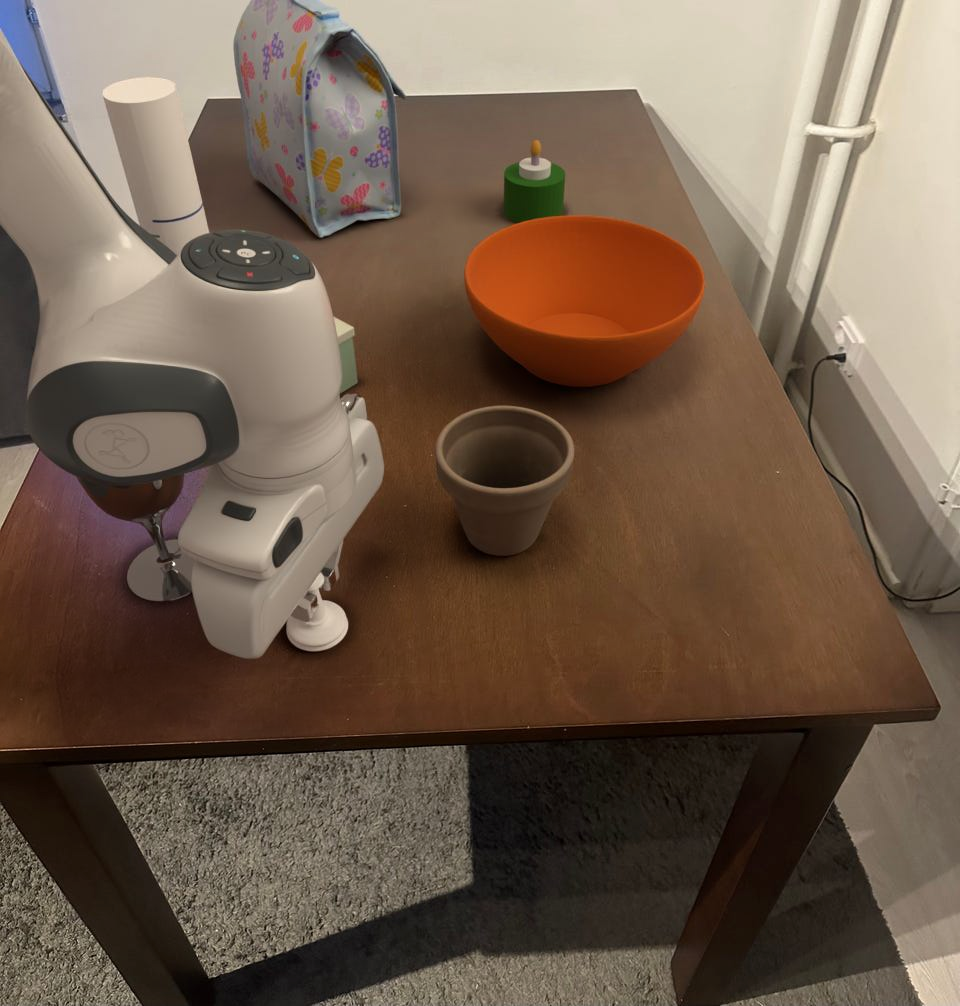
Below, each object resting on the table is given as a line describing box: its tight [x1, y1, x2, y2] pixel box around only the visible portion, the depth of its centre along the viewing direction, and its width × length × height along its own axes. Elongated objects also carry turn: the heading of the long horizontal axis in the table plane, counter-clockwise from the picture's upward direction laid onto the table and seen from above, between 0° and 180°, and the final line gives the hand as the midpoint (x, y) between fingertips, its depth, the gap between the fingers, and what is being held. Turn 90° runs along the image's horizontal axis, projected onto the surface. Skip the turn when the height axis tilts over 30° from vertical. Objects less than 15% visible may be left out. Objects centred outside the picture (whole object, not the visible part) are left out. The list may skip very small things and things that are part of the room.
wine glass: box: [76, 474, 195, 603], centre depth 71 cm, size 8×8×15 cm
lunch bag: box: [232, 0, 407, 238], centre depth 118 cm, size 22×17×26 cm
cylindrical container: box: [101, 76, 210, 255], centre depth 98 cm, size 7×7×25 cm
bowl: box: [463, 214, 706, 388], centre depth 97 cm, size 25×25×10 cm
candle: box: [503, 139, 566, 224], centre depth 121 cm, size 8×8×10 cm
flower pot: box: [434, 405, 576, 557], centre depth 77 cm, size 12×11×10 cm
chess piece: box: [286, 572, 349, 652], centre depth 69 cm, size 5×5×10 cm
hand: (315, 598), depth 70 cm, fingers closed on chess piece
